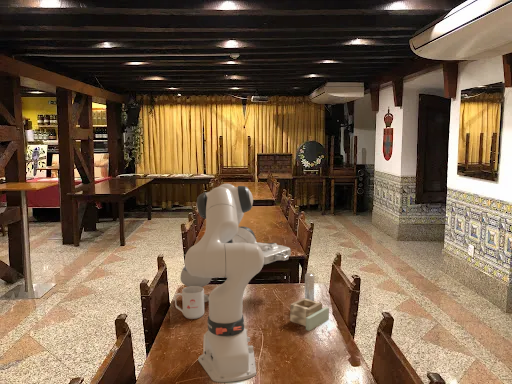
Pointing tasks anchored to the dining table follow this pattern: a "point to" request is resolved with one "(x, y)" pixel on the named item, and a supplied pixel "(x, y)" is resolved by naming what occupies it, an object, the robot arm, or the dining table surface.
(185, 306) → the mug
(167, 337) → the dining table surface
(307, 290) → the dowel
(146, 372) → the dining table surface
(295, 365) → the dining table surface
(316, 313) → the wall
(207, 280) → the chalice
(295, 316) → the socket block
